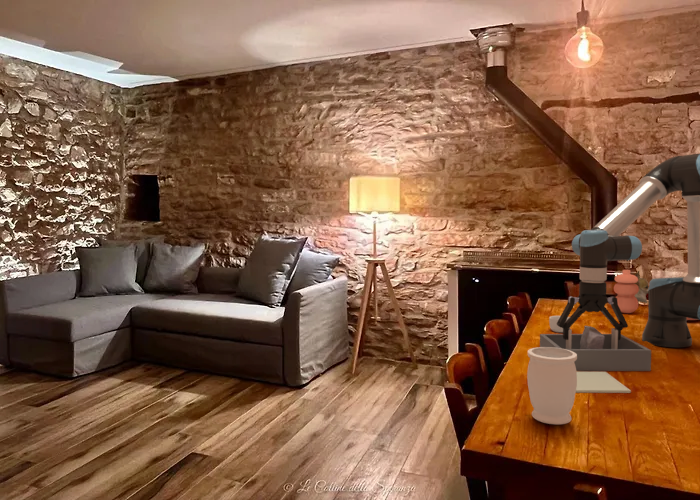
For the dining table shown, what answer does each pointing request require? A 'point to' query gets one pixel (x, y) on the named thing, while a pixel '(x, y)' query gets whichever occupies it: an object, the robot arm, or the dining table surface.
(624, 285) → the ceramic vessels
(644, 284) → the ceramic sculpture
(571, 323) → the robot arm
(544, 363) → the jar
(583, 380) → the board
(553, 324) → the teacup
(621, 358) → the access frame
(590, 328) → the stone block
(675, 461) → the dining table surface
